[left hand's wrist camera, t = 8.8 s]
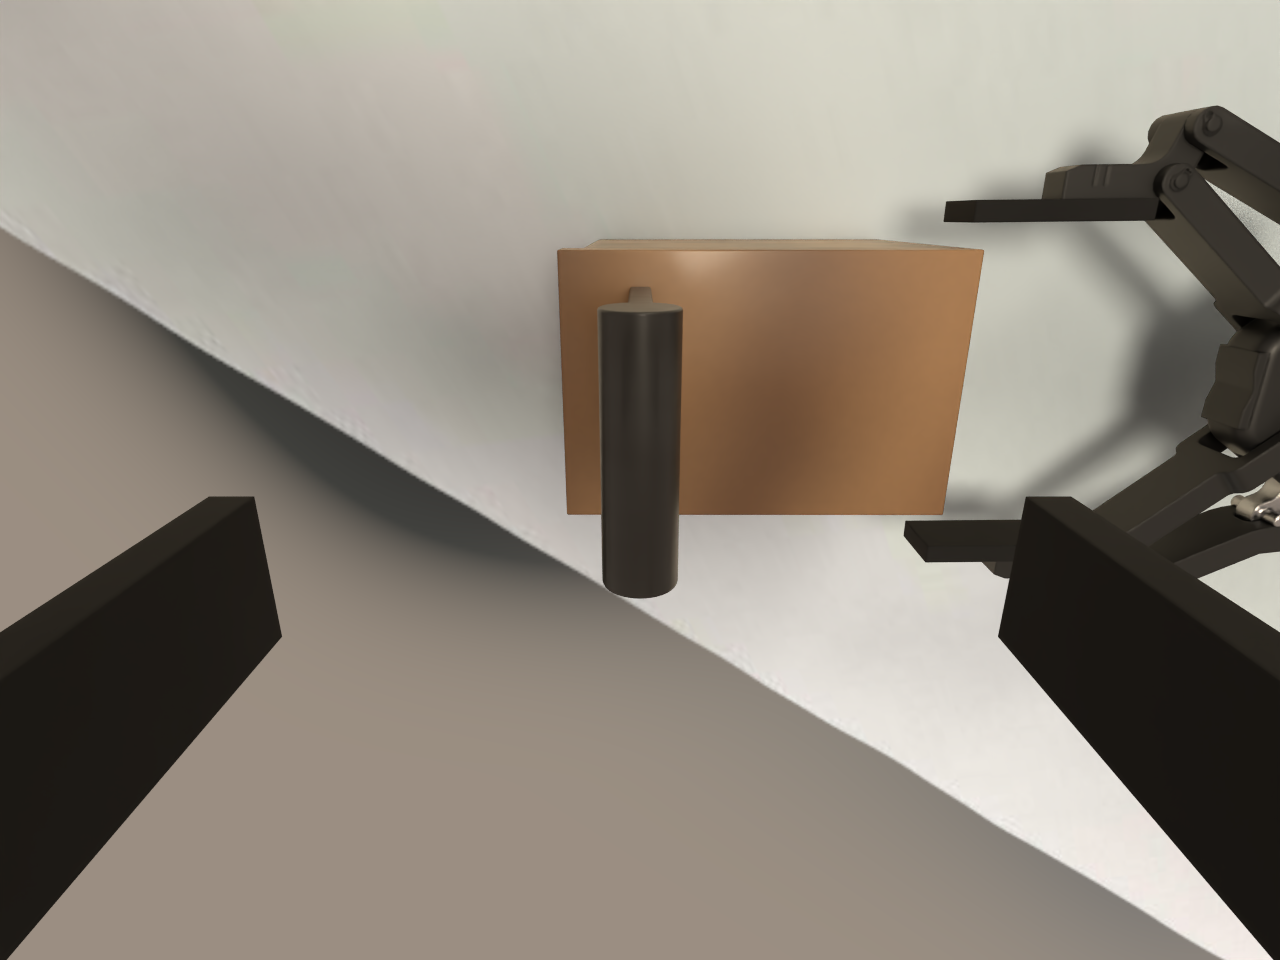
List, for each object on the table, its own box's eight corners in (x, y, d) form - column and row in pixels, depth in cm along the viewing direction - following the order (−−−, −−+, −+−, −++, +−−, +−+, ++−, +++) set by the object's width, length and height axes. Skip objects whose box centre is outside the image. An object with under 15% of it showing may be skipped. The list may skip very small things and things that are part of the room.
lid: (570, 502, 28) (537, 632, 19) (561, 248, 24) (516, 265, 16) (930, 502, 28) (1062, 633, 19) (968, 248, 24) (1148, 265, 16)
